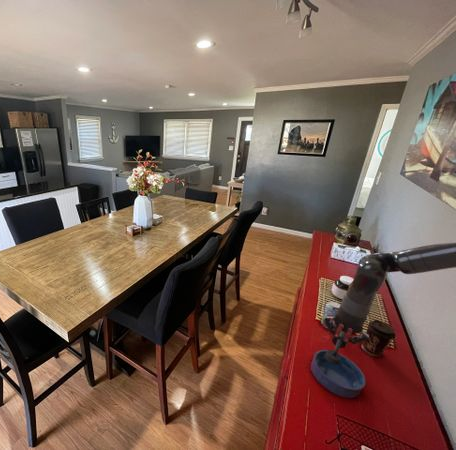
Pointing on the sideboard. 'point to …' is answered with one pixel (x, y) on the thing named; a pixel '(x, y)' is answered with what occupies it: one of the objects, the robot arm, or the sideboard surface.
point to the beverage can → (330, 312)
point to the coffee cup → (378, 337)
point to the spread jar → (341, 287)
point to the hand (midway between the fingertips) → (338, 345)
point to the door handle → (335, 351)
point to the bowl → (338, 375)
